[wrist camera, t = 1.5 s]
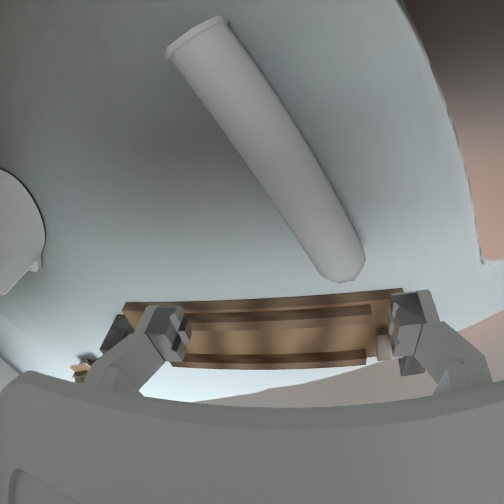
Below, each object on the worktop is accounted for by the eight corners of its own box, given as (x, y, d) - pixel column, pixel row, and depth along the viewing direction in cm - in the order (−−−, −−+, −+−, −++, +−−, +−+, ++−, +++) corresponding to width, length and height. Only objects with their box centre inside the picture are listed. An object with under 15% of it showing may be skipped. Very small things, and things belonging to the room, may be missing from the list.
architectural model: (76, 353, 55) (62, 382, 49) (93, 348, 52) (77, 380, 46) (88, 363, 56) (75, 392, 50) (105, 359, 53) (91, 391, 48)
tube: (383, 272, 27) (227, 7, 16) (335, 304, 28) (157, 50, 17) (359, 246, 32) (222, 24, 20) (317, 273, 33) (166, 59, 21)
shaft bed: (141, 350, 48) (128, 382, 43) (109, 302, 41) (90, 337, 36) (411, 343, 38) (419, 382, 33) (425, 285, 32) (440, 329, 27)
